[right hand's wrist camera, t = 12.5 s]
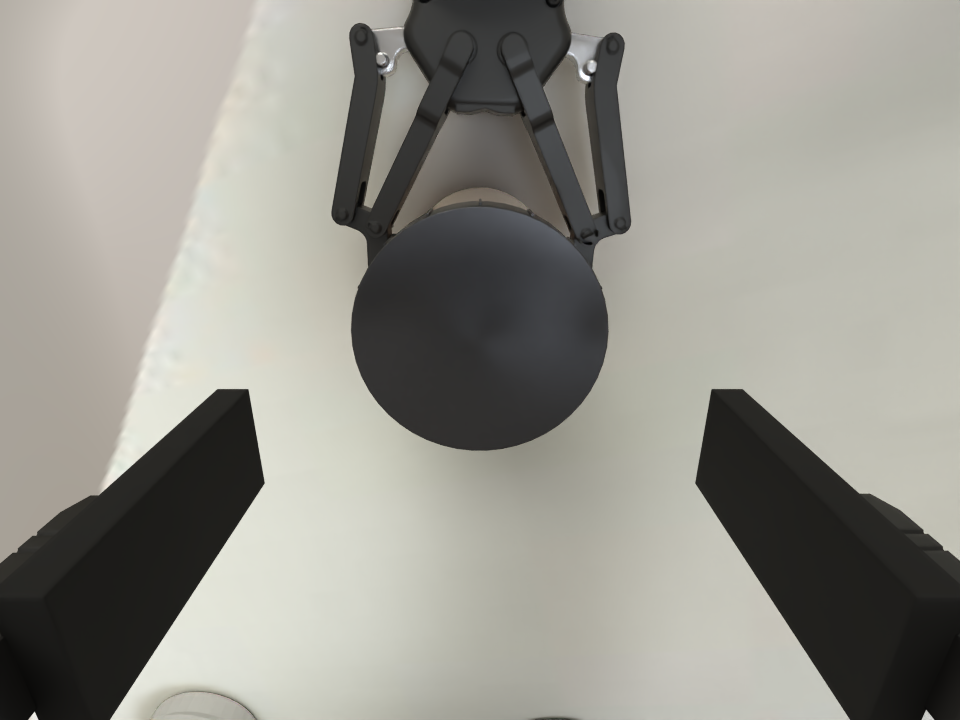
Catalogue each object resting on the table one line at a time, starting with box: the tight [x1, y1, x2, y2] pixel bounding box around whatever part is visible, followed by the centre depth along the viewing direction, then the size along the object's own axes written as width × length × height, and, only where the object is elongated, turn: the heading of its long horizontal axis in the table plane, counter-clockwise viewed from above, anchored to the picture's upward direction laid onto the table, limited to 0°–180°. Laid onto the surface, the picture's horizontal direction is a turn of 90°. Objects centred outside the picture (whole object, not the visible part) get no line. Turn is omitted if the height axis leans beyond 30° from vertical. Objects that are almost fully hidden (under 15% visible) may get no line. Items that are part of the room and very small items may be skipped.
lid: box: [351, 199, 608, 450], centre depth 22 cm, size 10×10×2 cm
